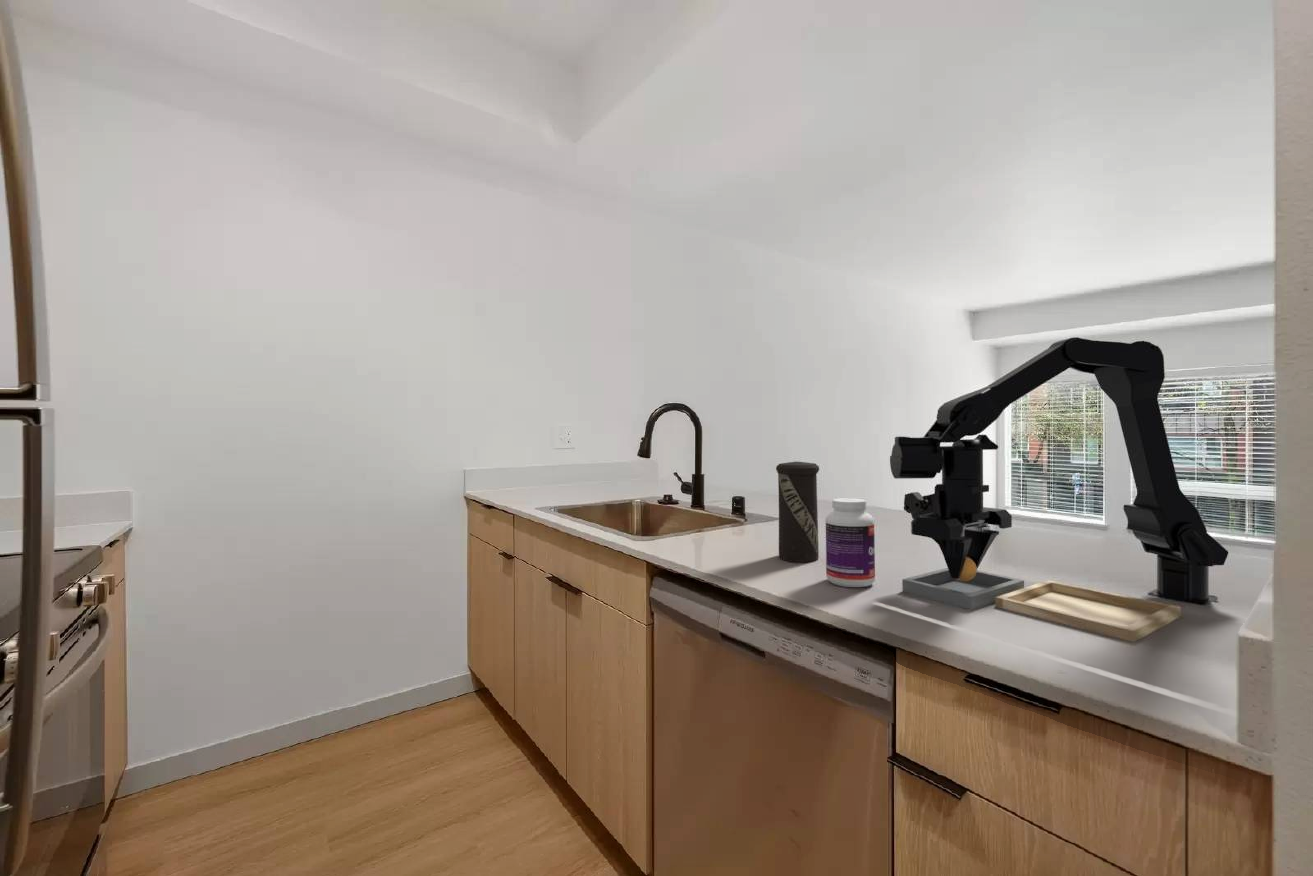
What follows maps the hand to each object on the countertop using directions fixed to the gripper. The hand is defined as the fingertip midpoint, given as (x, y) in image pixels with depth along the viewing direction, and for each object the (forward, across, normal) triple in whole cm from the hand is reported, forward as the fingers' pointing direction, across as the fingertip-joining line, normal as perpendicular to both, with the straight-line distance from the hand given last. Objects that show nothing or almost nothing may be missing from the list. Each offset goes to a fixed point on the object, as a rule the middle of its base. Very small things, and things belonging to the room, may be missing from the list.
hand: (962, 576), depth 87 cm
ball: (+1, 0, 0) cm, 1 cm away
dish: (+3, -5, +14) cm, 16 cm away
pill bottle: (+3, +9, -14) cm, 17 cm away
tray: (+3, 0, 0) cm, 3 cm away
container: (+3, +3, -32) cm, 33 cm away
